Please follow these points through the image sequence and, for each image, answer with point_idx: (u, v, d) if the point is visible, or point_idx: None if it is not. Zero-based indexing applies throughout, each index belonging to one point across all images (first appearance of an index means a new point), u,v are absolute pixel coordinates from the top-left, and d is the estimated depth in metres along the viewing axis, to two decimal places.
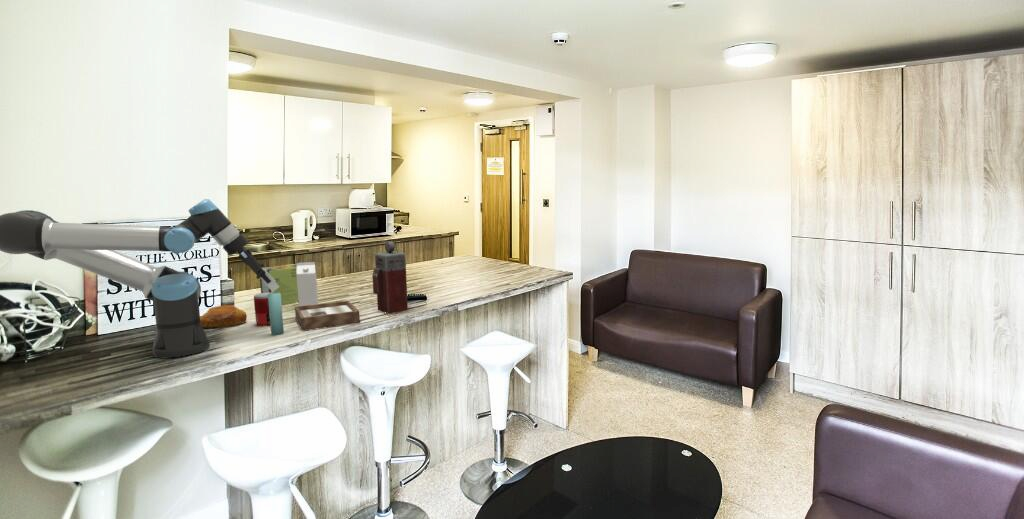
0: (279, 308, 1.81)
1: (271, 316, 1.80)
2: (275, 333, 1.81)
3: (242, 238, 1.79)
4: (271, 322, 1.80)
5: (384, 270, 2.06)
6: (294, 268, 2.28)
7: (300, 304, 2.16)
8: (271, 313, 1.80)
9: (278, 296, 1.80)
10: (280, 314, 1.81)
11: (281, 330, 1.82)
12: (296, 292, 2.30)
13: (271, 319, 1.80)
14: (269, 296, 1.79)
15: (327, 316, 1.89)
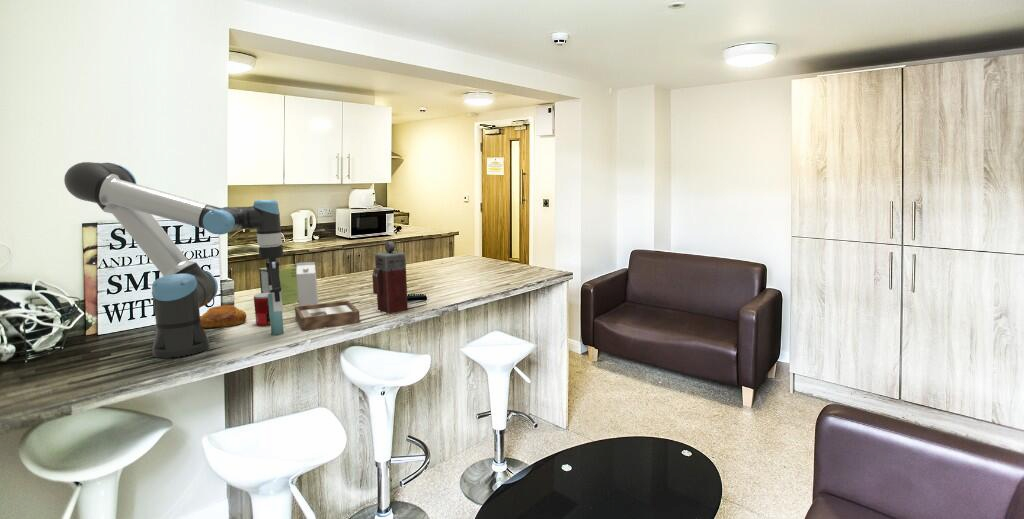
0: None
1: (271, 316, 1.80)
2: (275, 333, 1.81)
3: (281, 249, 1.78)
4: (271, 322, 1.80)
5: (384, 270, 2.06)
6: (294, 268, 2.28)
7: (300, 304, 2.16)
8: (271, 313, 1.80)
9: None
10: (280, 314, 1.81)
11: (281, 330, 1.82)
12: (296, 292, 2.30)
13: (271, 319, 1.80)
14: (269, 296, 1.79)
15: (327, 316, 1.89)
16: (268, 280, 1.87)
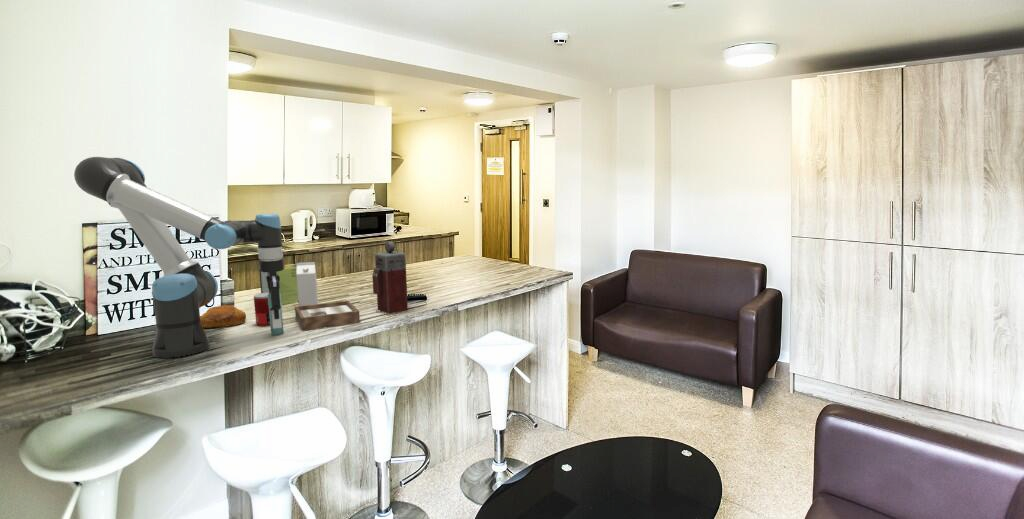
0: None
1: (271, 316, 1.80)
2: (275, 333, 1.81)
3: (282, 263, 1.79)
4: (271, 322, 1.80)
5: (384, 270, 2.06)
6: (294, 268, 2.28)
7: (300, 304, 2.16)
8: (271, 313, 1.80)
9: None
10: None
11: (281, 330, 1.82)
12: (296, 292, 2.30)
13: (271, 319, 1.80)
14: (269, 296, 1.79)
15: (327, 316, 1.89)
16: None
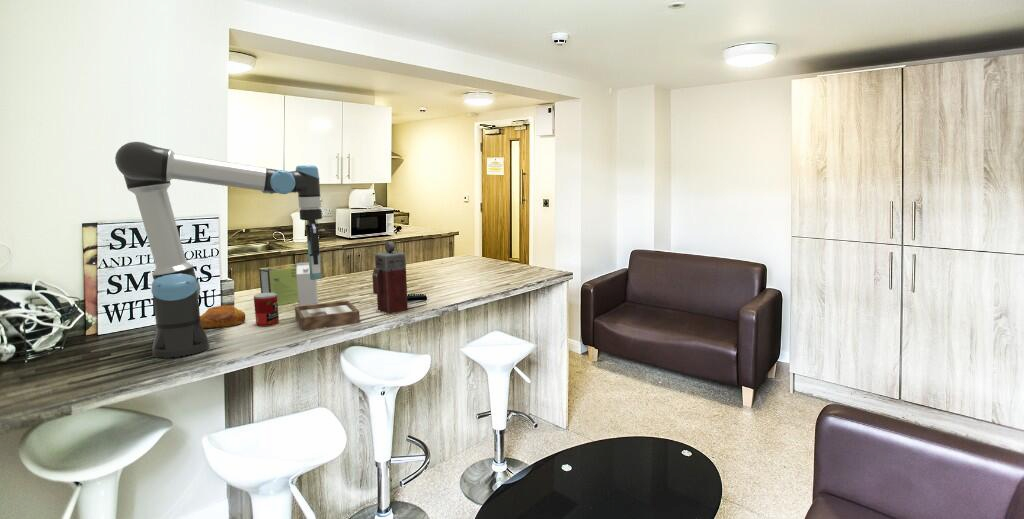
0: None
1: (310, 262, 1.92)
2: (314, 278, 1.93)
3: (320, 212, 1.91)
4: (310, 267, 1.93)
5: (384, 270, 2.06)
6: (294, 268, 2.28)
7: (300, 304, 2.16)
8: (310, 259, 1.92)
9: None
10: None
11: (319, 275, 1.94)
12: (296, 292, 2.30)
13: (310, 265, 1.92)
14: (308, 243, 1.91)
15: (327, 316, 1.89)
16: None
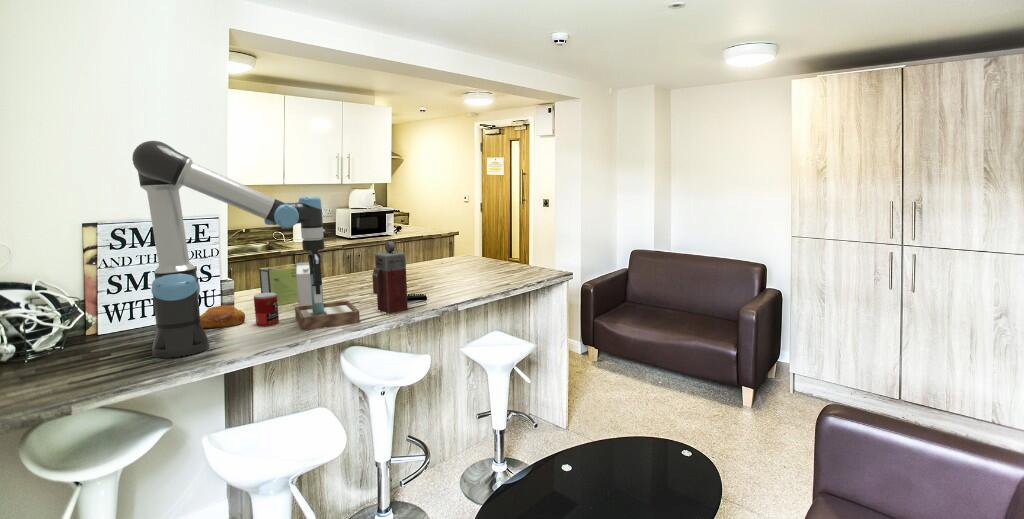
0: None
1: (313, 295, 1.94)
2: (317, 311, 1.95)
3: (323, 243, 1.93)
4: (313, 301, 1.95)
5: (384, 270, 2.06)
6: (294, 268, 2.28)
7: (300, 304, 2.16)
8: (313, 292, 1.94)
9: None
10: None
11: (322, 308, 1.96)
12: (296, 292, 2.30)
13: (313, 298, 1.95)
14: (311, 277, 1.93)
15: (327, 316, 1.89)
16: None
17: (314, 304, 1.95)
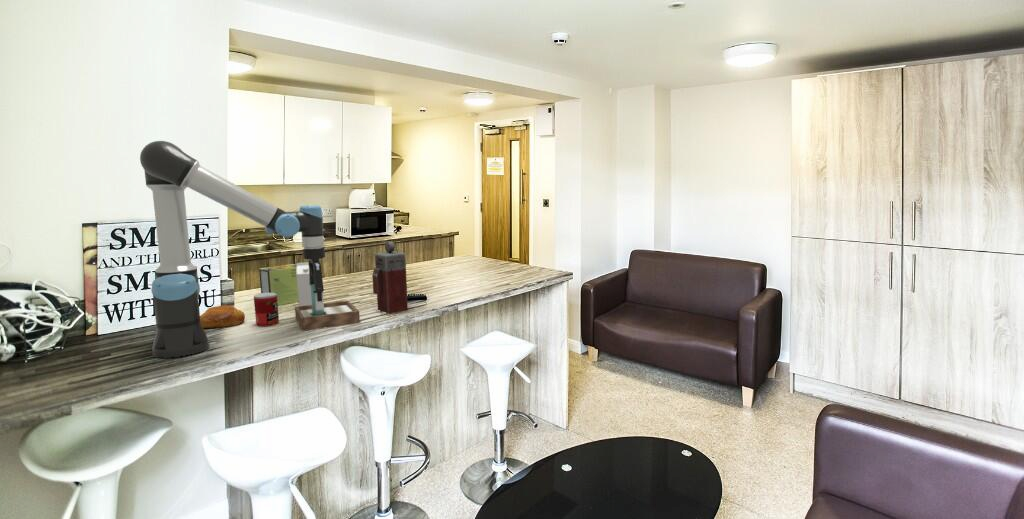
0: None
1: (313, 305, 1.95)
2: None
3: (323, 251, 1.93)
4: (313, 311, 1.95)
5: (384, 270, 2.06)
6: (294, 268, 2.28)
7: (300, 304, 2.16)
8: (313, 302, 1.95)
9: None
10: None
11: None
12: (296, 292, 2.30)
13: (313, 308, 1.95)
14: (312, 287, 1.94)
15: (327, 316, 1.89)
16: (310, 282, 2.01)
17: (315, 314, 1.95)
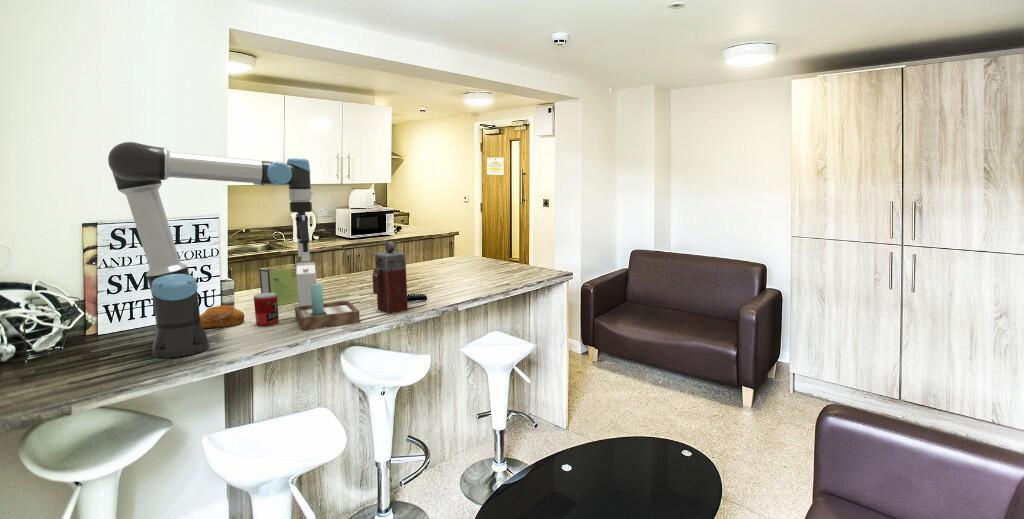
0: (321, 298, 1.96)
1: (313, 305, 1.95)
2: None
3: (310, 205, 1.93)
4: (313, 311, 1.95)
5: (384, 270, 2.06)
6: (294, 268, 2.28)
7: (300, 304, 2.16)
8: (313, 302, 1.95)
9: (320, 287, 1.95)
10: (321, 303, 1.96)
11: None
12: (296, 292, 2.30)
13: (313, 308, 1.95)
14: (312, 287, 1.94)
15: (327, 316, 1.89)
16: (297, 235, 2.02)
17: (315, 314, 1.95)
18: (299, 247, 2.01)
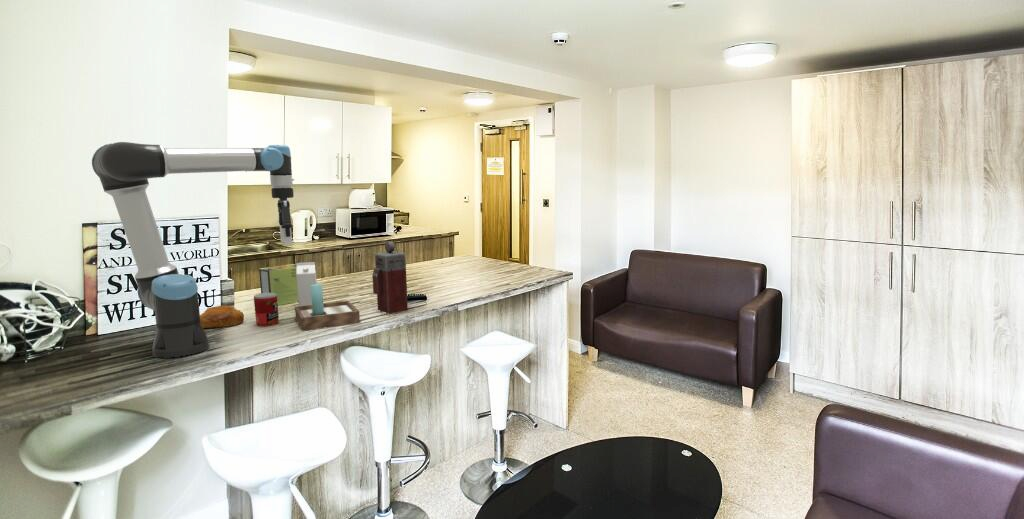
0: (321, 298, 1.96)
1: (313, 305, 1.95)
2: None
3: (292, 191, 1.97)
4: (313, 311, 1.95)
5: (384, 270, 2.06)
6: (294, 268, 2.28)
7: (300, 304, 2.16)
8: (313, 302, 1.95)
9: (320, 287, 1.95)
10: (321, 303, 1.96)
11: None
12: (296, 292, 2.30)
13: (313, 308, 1.95)
14: (312, 287, 1.94)
15: (327, 316, 1.89)
16: (279, 221, 2.06)
17: (315, 314, 1.95)
18: (281, 233, 2.05)
